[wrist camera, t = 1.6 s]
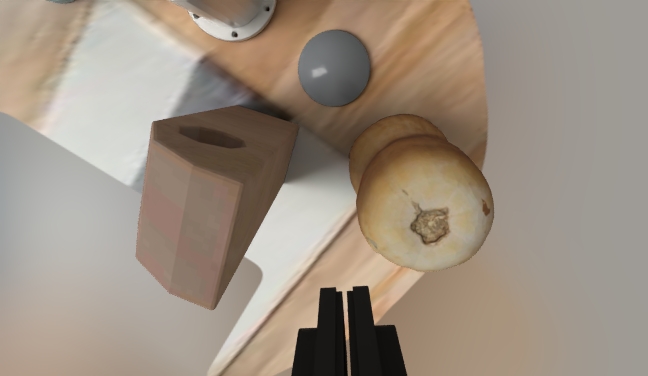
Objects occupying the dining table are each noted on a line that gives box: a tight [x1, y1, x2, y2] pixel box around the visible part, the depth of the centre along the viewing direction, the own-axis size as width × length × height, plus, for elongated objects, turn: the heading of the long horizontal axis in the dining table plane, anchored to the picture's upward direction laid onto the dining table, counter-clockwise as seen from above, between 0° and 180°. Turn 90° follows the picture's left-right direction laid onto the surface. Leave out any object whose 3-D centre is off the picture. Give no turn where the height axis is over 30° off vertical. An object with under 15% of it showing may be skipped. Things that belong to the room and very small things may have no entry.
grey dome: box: [298, 30, 370, 106], centre depth 45 cm, size 10×10×1 cm
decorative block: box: [136, 105, 299, 310], centre depth 34 cm, size 10×10×30 cm
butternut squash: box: [349, 114, 494, 272], centre depth 37 cm, size 14×13×25 cm
